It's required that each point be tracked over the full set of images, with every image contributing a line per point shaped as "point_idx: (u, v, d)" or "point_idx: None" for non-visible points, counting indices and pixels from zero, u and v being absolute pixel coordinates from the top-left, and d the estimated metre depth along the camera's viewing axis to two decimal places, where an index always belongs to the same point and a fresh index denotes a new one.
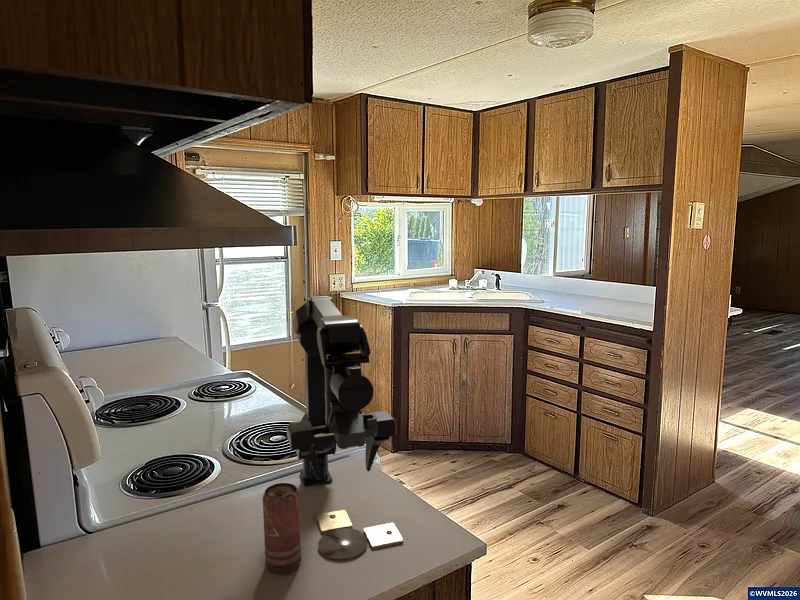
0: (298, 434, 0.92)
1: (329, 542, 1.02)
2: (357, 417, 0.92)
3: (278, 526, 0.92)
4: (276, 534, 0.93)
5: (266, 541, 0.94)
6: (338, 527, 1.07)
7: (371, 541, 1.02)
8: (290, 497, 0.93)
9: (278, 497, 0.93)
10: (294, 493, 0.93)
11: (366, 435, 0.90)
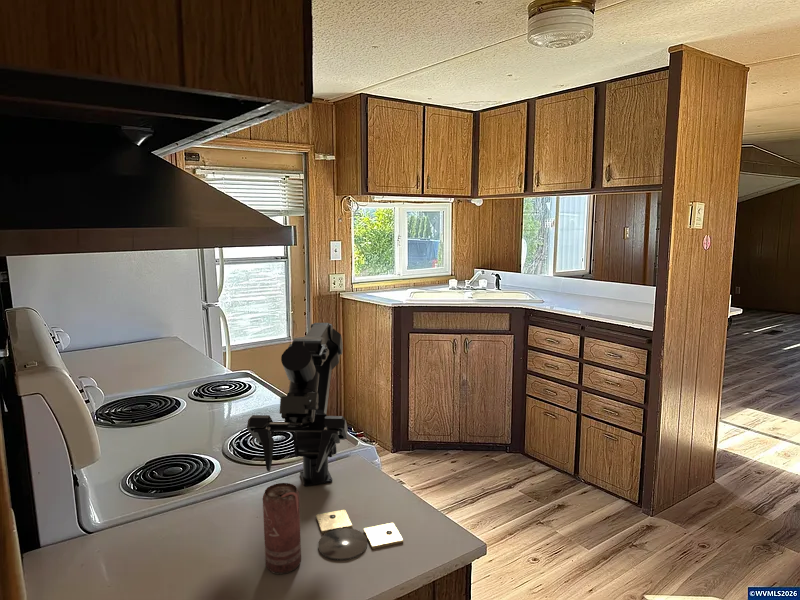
0: (255, 416, 1.06)
1: (329, 542, 1.02)
2: None
3: (278, 526, 0.92)
4: (276, 534, 0.93)
5: (266, 541, 0.94)
6: (338, 527, 1.07)
7: (371, 541, 1.02)
8: (290, 497, 0.93)
9: (278, 497, 0.93)
10: (294, 493, 0.93)
11: (303, 401, 1.02)
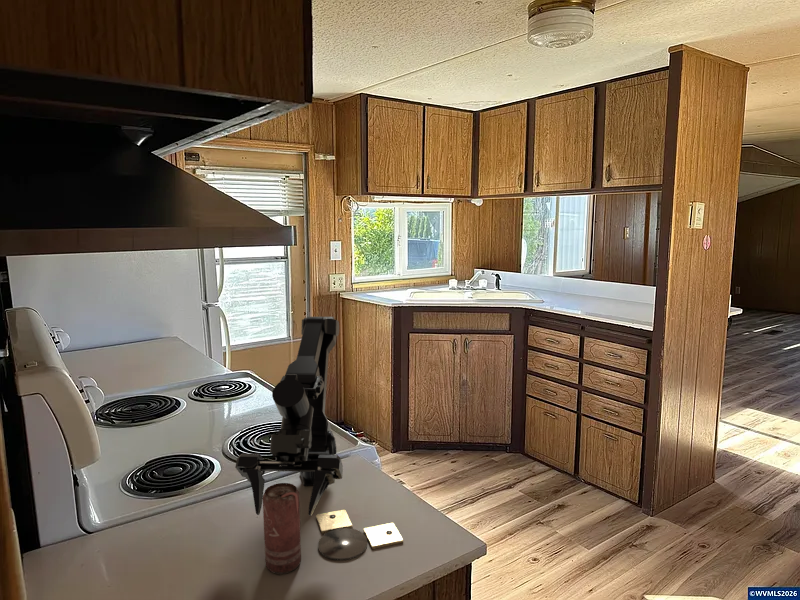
0: (244, 454, 1.00)
1: (329, 542, 1.02)
2: None
3: (278, 526, 0.92)
4: (276, 534, 0.93)
5: (266, 541, 0.94)
6: (338, 527, 1.07)
7: (371, 541, 1.02)
8: (290, 497, 0.93)
9: (278, 497, 0.93)
10: (294, 493, 0.93)
11: (295, 440, 0.96)
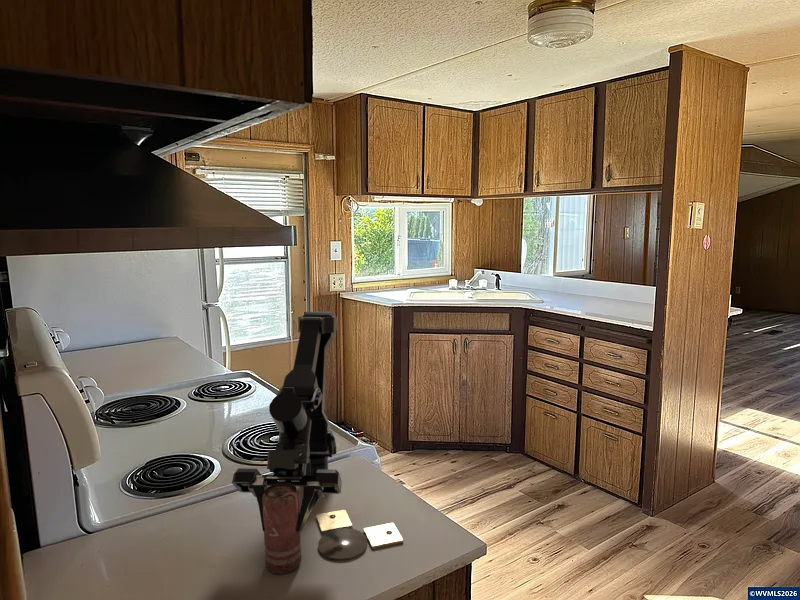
0: (241, 469, 0.98)
1: (329, 542, 1.02)
2: None
3: (278, 526, 0.92)
4: (276, 534, 0.93)
5: (266, 541, 0.94)
6: (338, 527, 1.07)
7: (371, 541, 1.02)
8: (290, 497, 0.93)
9: (278, 497, 0.93)
10: (294, 493, 0.93)
11: (293, 456, 0.94)
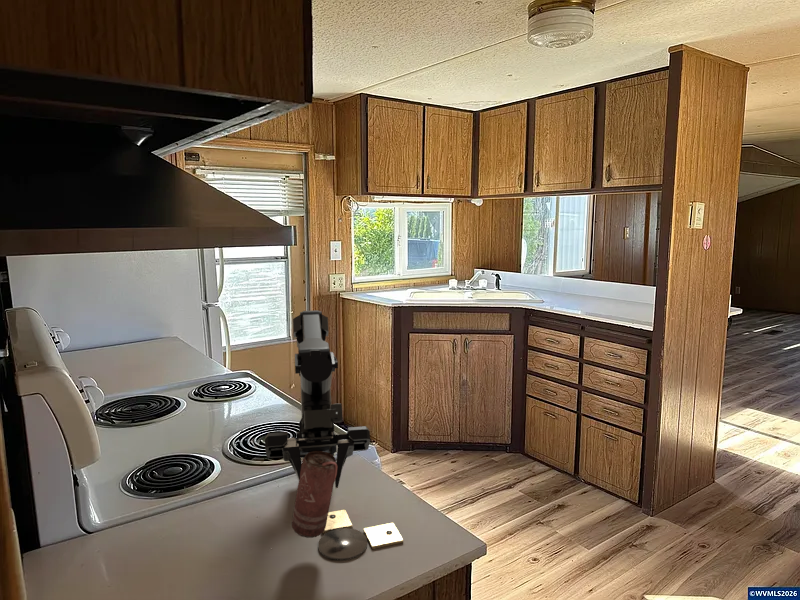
0: (272, 434, 0.98)
1: (329, 542, 1.02)
2: None
3: (316, 492, 0.94)
4: (312, 500, 0.95)
5: (299, 505, 0.96)
6: (338, 527, 1.07)
7: (371, 541, 1.02)
8: (331, 466, 0.95)
9: (319, 465, 0.95)
10: (335, 463, 0.96)
11: (330, 414, 0.96)
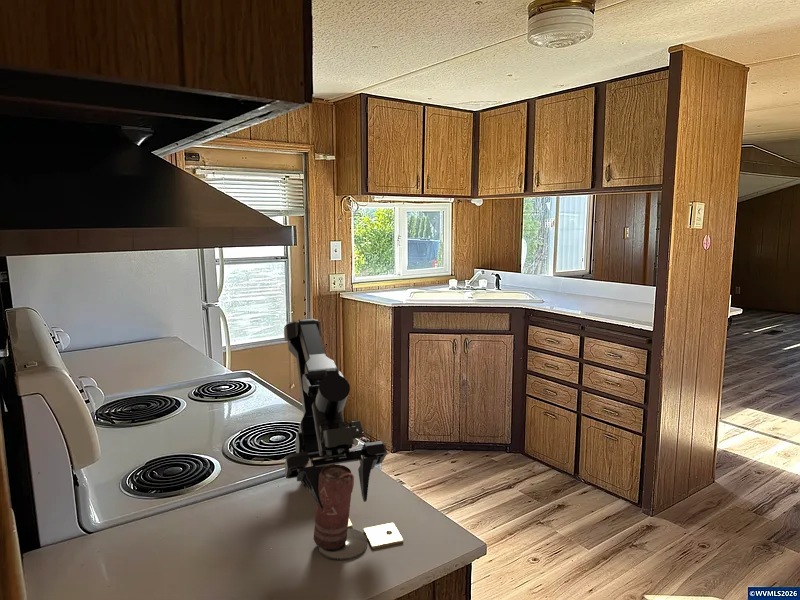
0: (293, 454, 1.00)
1: None
2: None
3: (337, 505, 0.97)
4: (334, 512, 0.98)
5: (321, 520, 0.98)
6: None
7: (371, 541, 1.02)
8: (349, 477, 0.98)
9: (337, 478, 0.98)
10: (351, 473, 0.99)
11: (352, 432, 0.99)
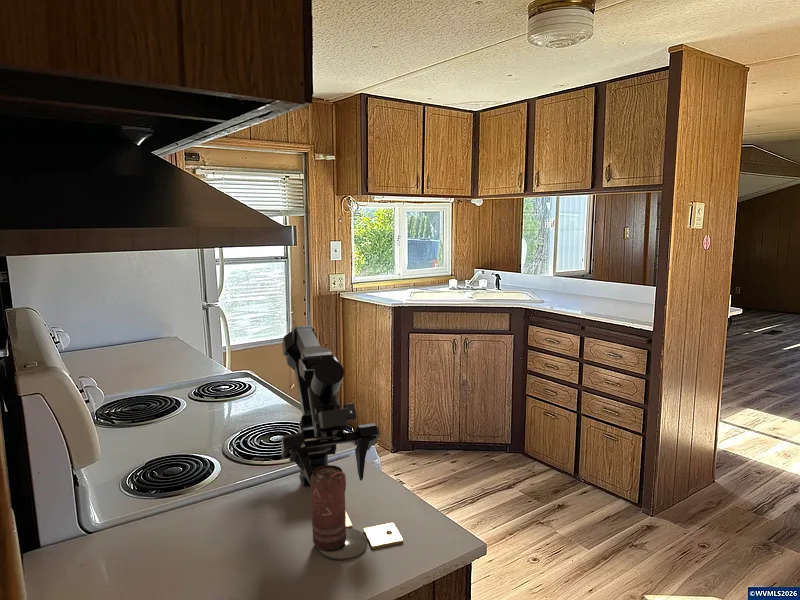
0: (289, 435, 1.04)
1: None
2: None
3: (331, 504, 0.98)
4: (329, 512, 0.98)
5: (317, 522, 0.99)
6: None
7: (371, 541, 1.02)
8: (340, 476, 0.99)
9: (328, 478, 0.98)
10: (342, 472, 0.99)
11: (346, 413, 1.03)
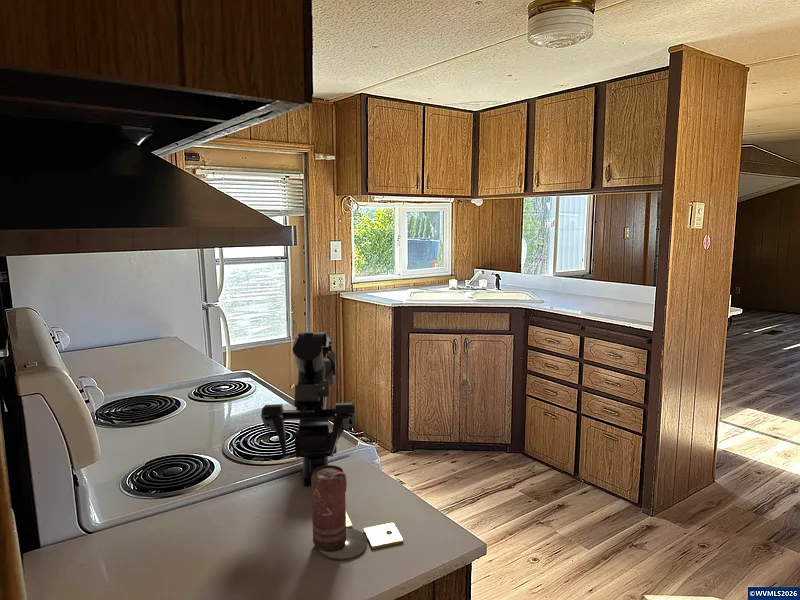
0: (268, 405, 1.11)
1: None
2: None
3: (332, 504, 0.98)
4: (329, 513, 0.98)
5: (317, 522, 0.99)
6: None
7: (371, 541, 1.02)
8: (341, 476, 0.99)
9: (329, 478, 0.98)
10: (343, 472, 0.99)
11: (317, 389, 1.08)
